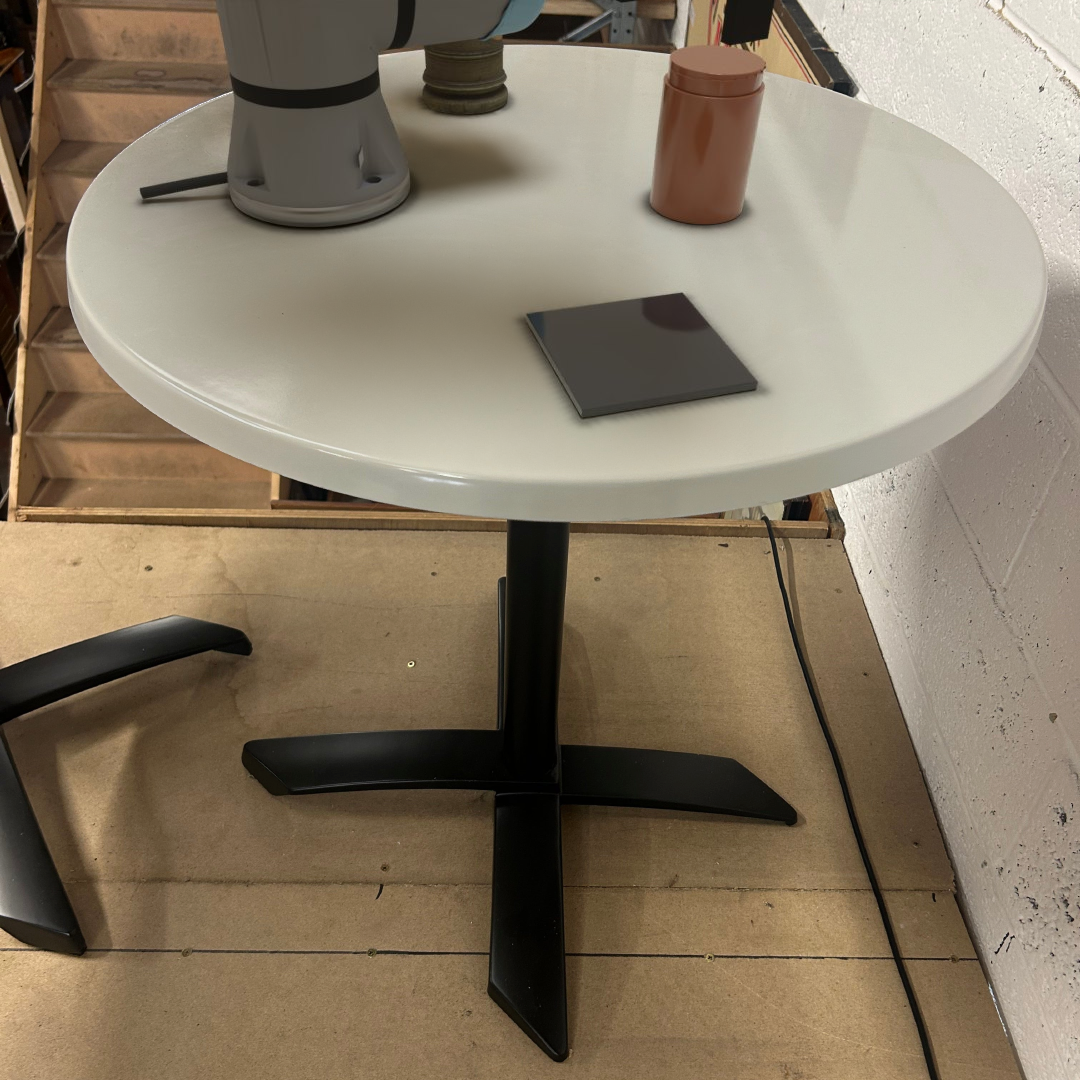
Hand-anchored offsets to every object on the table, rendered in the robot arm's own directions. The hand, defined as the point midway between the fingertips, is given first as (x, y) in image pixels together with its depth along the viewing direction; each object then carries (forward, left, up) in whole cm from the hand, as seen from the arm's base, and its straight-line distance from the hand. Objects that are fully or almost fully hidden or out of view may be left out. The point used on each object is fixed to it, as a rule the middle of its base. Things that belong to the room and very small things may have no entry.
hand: (687, 18), depth 51 cm
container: (-10, +46, -20) cm, 51 cm away
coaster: (-2, -4, -19) cm, 20 cm away
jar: (+8, +19, -19) cm, 28 cm away
